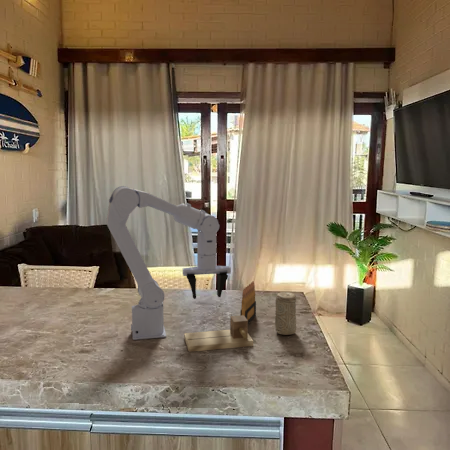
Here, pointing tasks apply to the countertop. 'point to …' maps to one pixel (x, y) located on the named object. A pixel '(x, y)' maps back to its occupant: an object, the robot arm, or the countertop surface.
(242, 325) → the mallet
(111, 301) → the countertop surface
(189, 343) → the board
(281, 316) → the carving
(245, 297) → the ammunition clip
